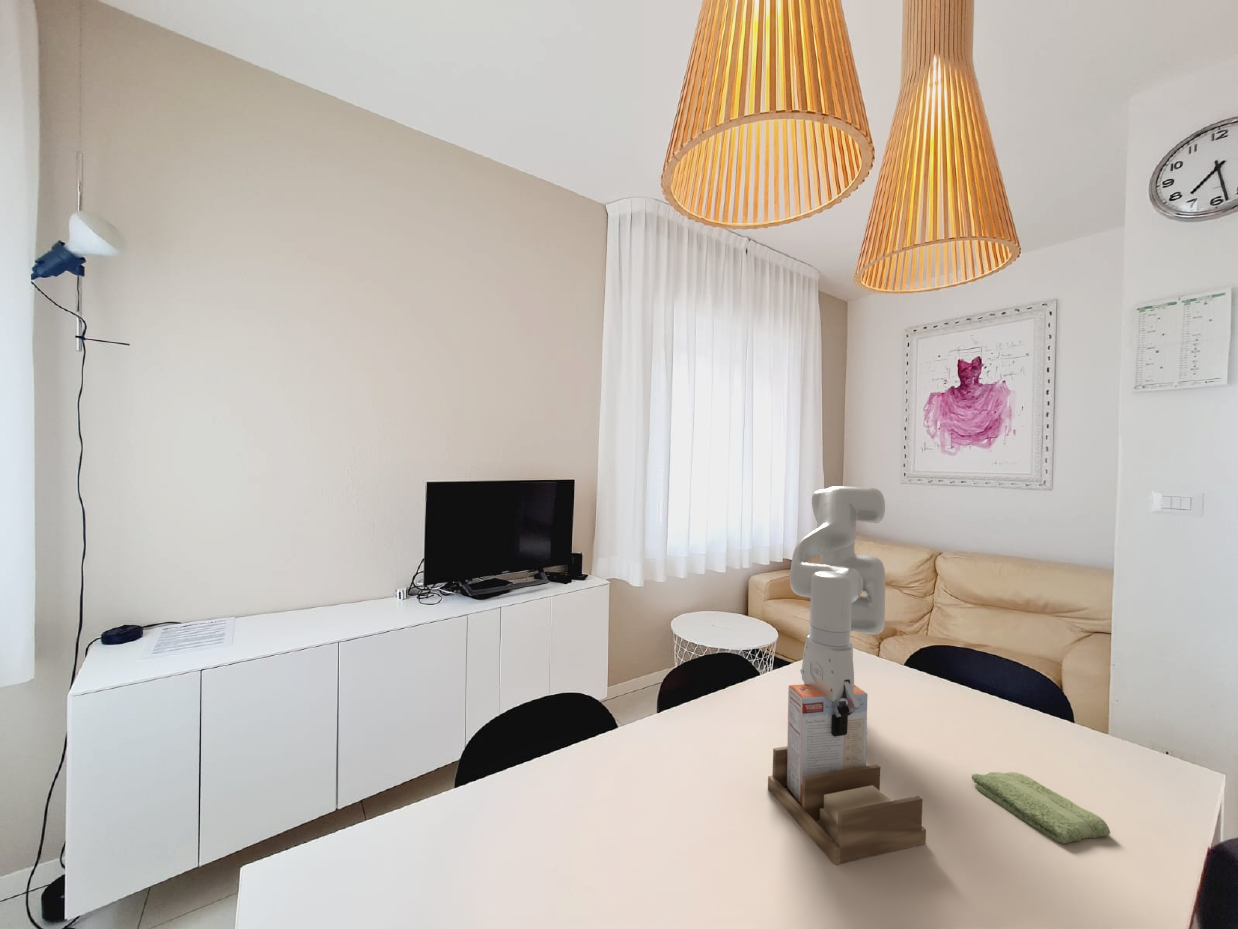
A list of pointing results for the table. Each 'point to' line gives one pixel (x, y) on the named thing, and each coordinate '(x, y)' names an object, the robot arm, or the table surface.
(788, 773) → the cracker box
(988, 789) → the washcloth
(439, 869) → the table surface
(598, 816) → the table surface
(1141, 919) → the table surface
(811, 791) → the rack
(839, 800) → the wooden block
